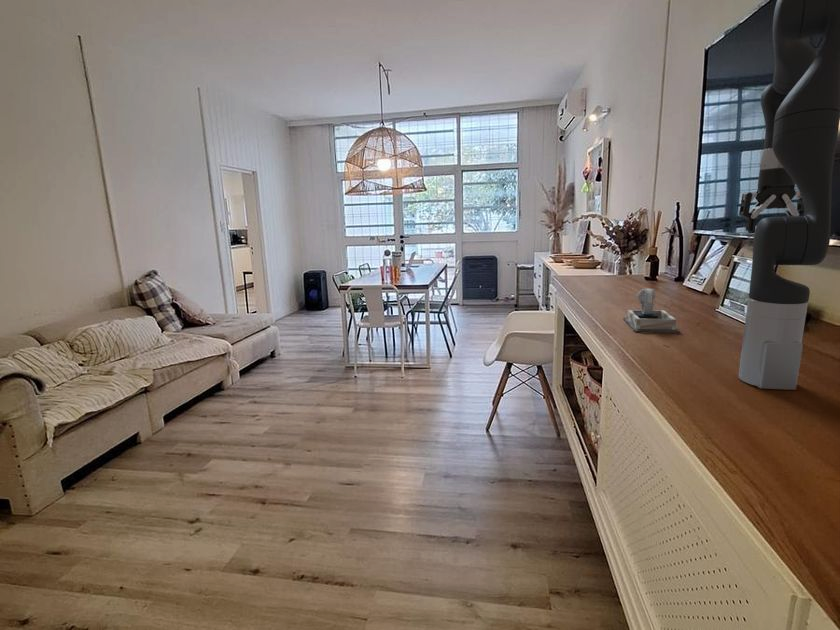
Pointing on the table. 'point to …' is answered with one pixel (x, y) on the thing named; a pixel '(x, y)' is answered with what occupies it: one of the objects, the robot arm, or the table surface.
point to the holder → (652, 322)
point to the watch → (646, 304)
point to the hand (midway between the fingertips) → (769, 232)
